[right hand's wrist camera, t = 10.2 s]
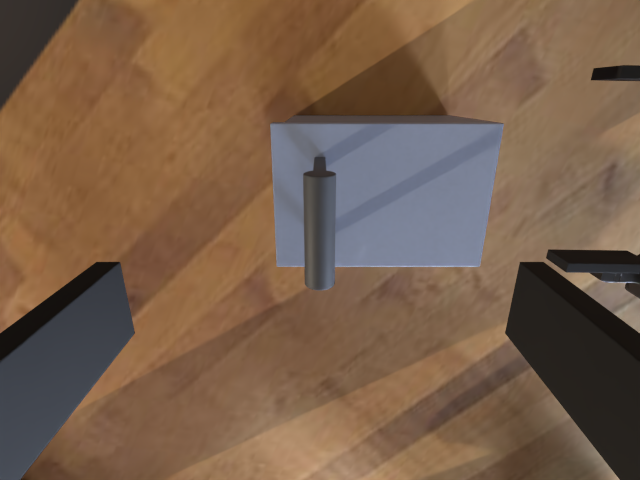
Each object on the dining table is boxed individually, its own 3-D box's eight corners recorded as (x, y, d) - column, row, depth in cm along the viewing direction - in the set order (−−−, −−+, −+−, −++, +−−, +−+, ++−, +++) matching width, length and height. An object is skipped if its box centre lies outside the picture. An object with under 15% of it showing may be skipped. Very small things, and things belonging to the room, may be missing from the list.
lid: (278, 260, 27) (262, 322, 20) (272, 122, 24) (250, 134, 16) (474, 260, 27) (531, 322, 20) (496, 122, 24) (576, 133, 16)
